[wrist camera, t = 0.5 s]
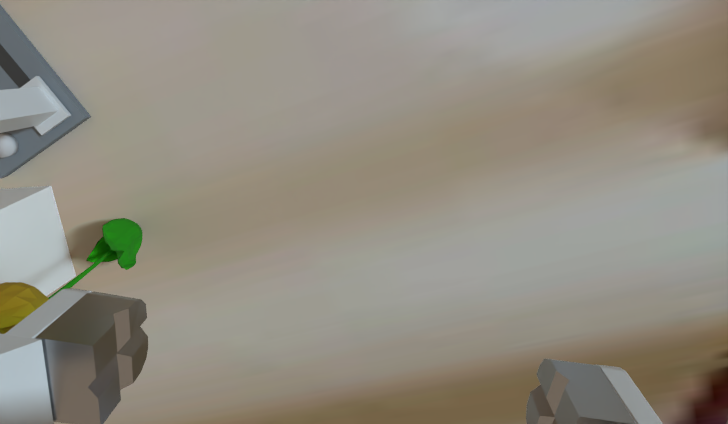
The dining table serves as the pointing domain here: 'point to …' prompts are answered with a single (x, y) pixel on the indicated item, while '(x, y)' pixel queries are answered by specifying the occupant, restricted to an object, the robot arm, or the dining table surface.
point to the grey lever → (31, 108)
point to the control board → (11, 71)
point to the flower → (119, 241)
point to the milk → (33, 239)
